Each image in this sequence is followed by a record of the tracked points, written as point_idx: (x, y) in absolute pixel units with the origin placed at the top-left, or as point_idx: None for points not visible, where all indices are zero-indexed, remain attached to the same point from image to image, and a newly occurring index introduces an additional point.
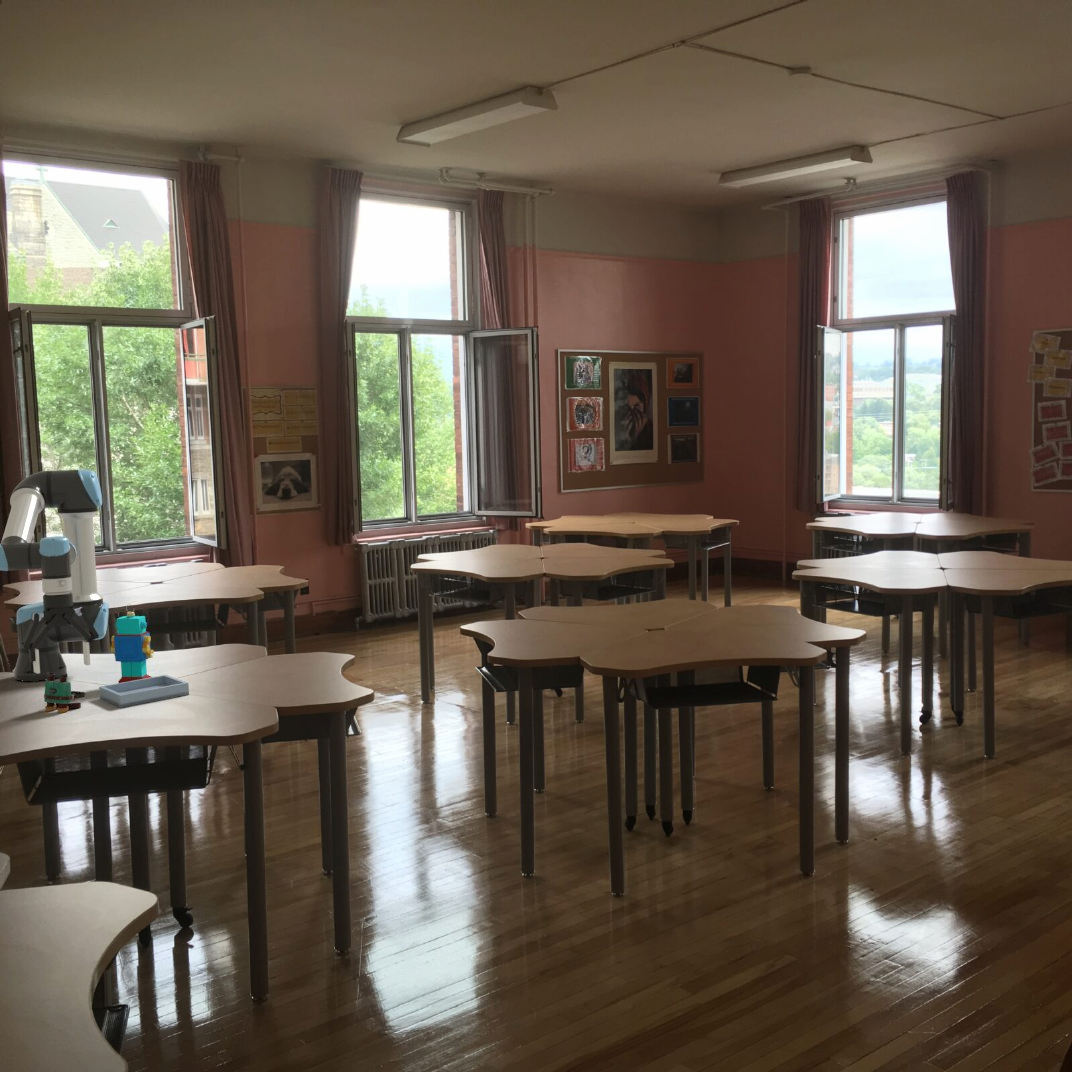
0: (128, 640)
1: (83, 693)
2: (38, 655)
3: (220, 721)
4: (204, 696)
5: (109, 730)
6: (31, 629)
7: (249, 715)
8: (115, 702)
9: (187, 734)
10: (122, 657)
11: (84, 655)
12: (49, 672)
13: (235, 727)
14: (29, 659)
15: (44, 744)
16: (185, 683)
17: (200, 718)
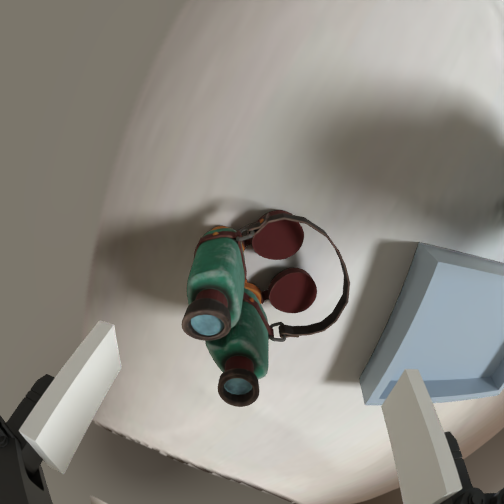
0: None
1: (345, 296)
2: (76, 443)
3: (350, 488)
4: (477, 401)
5: (230, 453)
6: None
7: (386, 485)
8: (374, 359)
9: (285, 495)
10: None
11: (413, 423)
12: (200, 314)
13: (335, 500)
14: (39, 380)
15: (125, 427)
16: (494, 395)
17: (353, 476)
